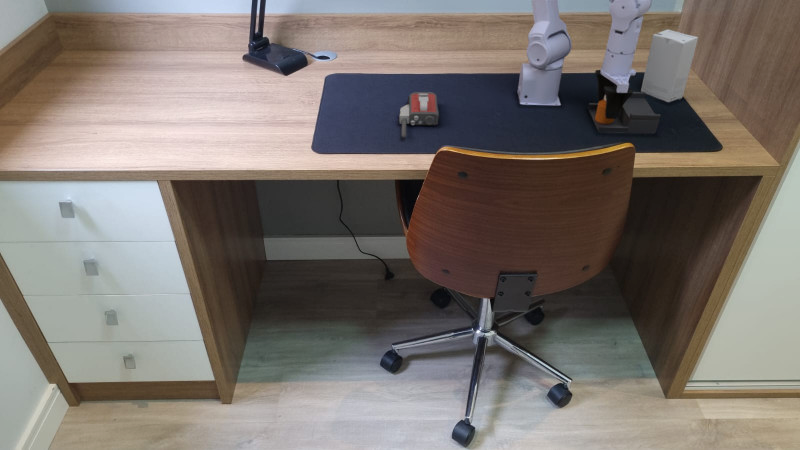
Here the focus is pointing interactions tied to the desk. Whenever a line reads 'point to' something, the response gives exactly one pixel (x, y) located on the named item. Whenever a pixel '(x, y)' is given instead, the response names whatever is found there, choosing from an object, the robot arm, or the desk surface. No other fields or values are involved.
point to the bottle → (602, 112)
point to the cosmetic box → (668, 65)
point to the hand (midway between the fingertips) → (606, 110)
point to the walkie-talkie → (419, 110)
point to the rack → (630, 117)
